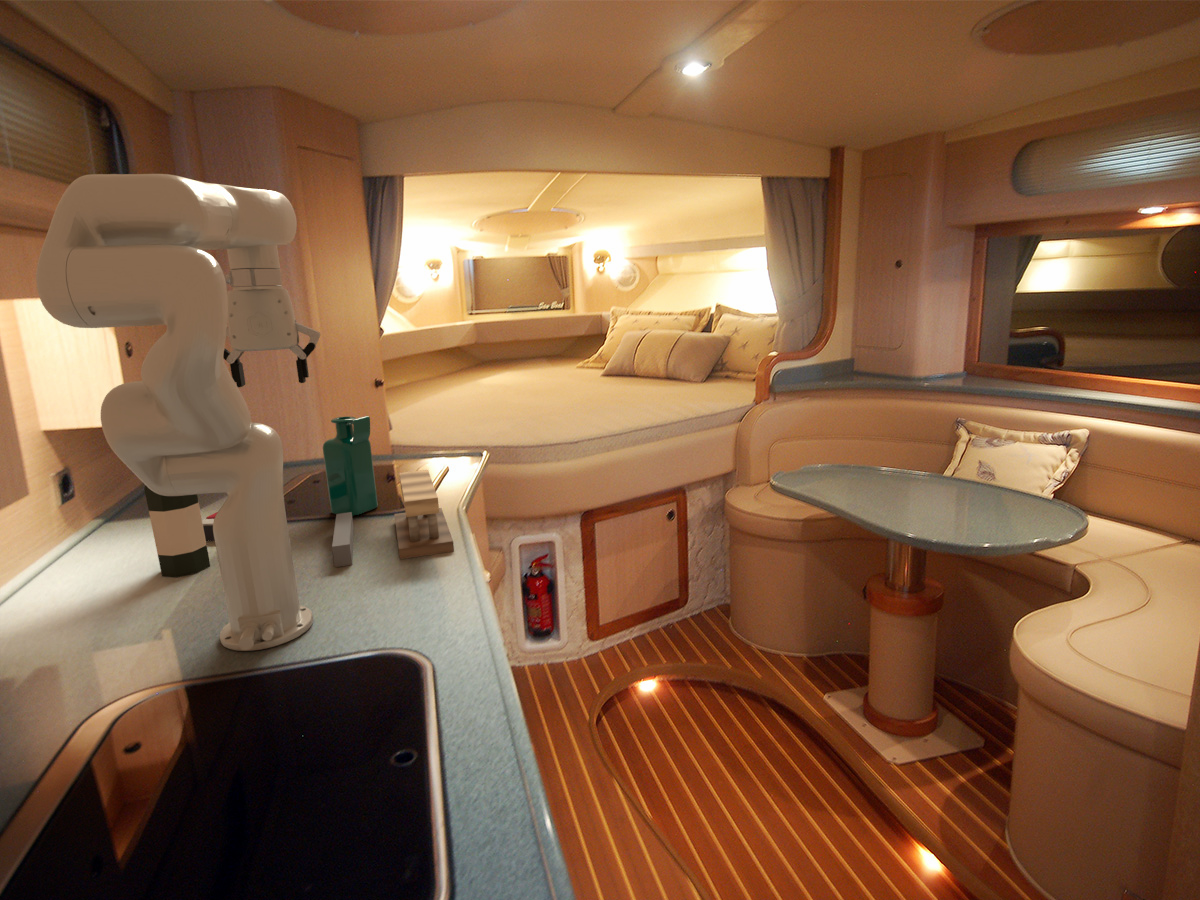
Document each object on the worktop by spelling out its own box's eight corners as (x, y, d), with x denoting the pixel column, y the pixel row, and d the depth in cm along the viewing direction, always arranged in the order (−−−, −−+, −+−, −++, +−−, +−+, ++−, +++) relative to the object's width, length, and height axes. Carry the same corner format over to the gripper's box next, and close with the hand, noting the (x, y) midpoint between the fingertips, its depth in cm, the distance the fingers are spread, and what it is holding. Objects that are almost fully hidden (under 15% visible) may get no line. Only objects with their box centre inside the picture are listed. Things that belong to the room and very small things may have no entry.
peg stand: (454, 550, 131) (450, 511, 129) (400, 559, 128) (395, 518, 126) (442, 516, 151) (438, 481, 149) (395, 522, 148) (391, 487, 146)
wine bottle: (151, 579, 123) (117, 415, 116) (172, 561, 131) (141, 407, 124) (201, 575, 124) (170, 412, 117) (218, 557, 132) (190, 404, 125)
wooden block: (439, 512, 128) (437, 497, 127) (406, 517, 126) (404, 501, 126) (429, 482, 148) (427, 469, 148) (400, 486, 147) (399, 472, 146)
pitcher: (327, 513, 156) (314, 419, 151) (354, 502, 163) (343, 412, 158) (359, 518, 152) (347, 421, 147) (386, 507, 159) (375, 414, 154)
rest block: (352, 564, 126) (349, 544, 125) (334, 567, 125) (332, 546, 124) (353, 529, 144) (351, 512, 144) (338, 532, 144) (336, 514, 143)
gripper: (192, 282, 107) (210, 390, 111) (310, 278, 112) (323, 382, 115) (205, 284, 114) (221, 385, 118) (315, 280, 119) (328, 378, 122)
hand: (272, 384), depth 117 cm, fingers open, 9 cm apart
